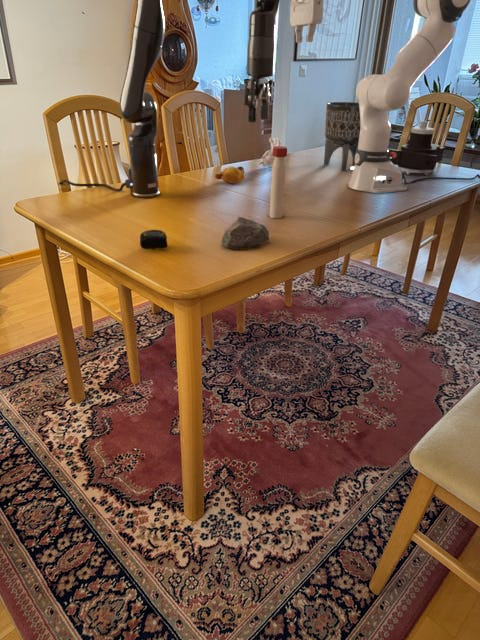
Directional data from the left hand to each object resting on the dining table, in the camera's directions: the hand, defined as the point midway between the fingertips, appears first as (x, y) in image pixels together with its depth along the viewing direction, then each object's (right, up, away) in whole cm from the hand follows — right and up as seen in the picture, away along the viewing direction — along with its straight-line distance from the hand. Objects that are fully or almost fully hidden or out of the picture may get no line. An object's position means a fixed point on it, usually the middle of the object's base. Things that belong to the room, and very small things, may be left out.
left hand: (258, 120), depth 132 cm
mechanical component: (+76, +10, +75) cm, 108 cm away
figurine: (+8, +11, +75) cm, 76 cm away
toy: (-8, -2, +50) cm, 51 cm away
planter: (+42, +13, +79) cm, 90 cm away
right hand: (+15, +32, +15) cm, 39 cm away
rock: (-3, -38, -10) cm, 39 cm away
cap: (+6, -8, +1) cm, 10 cm away
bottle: (+6, -25, +12) cm, 28 cm away
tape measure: (-27, -40, -14) cm, 50 cm away
